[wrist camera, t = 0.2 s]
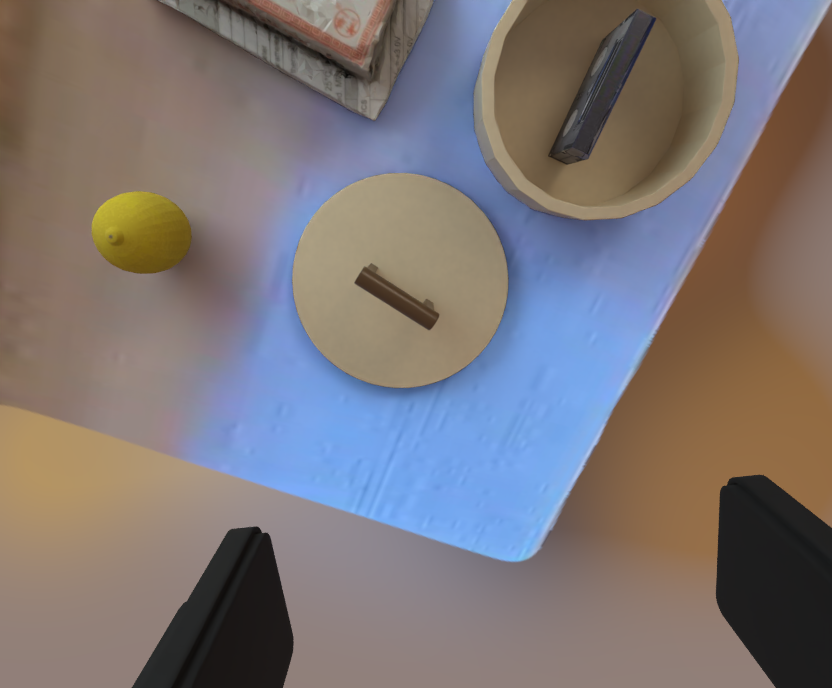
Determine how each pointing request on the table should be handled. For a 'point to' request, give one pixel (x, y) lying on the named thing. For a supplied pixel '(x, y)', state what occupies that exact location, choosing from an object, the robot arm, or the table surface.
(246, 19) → the packaged product
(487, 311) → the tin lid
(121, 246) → the lemon
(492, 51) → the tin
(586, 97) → the mini dv tape
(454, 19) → the table surface
